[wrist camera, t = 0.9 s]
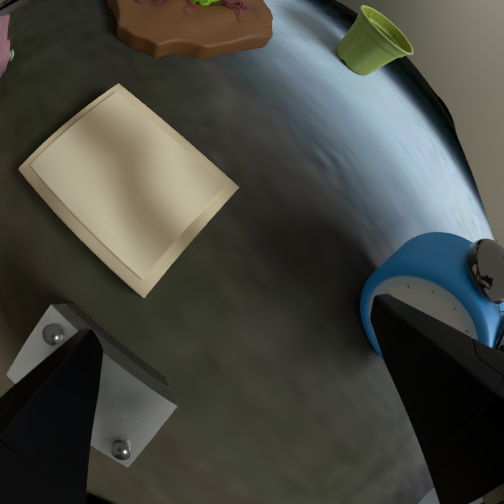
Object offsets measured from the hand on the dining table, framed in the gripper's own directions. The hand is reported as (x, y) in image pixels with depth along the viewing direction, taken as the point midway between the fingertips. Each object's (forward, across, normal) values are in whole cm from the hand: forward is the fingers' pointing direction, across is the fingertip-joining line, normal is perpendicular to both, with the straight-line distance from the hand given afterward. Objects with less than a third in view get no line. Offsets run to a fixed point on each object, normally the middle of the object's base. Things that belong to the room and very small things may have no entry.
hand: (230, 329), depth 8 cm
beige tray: (+13, +7, -2) cm, 15 cm away
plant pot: (+35, -20, -14) cm, 42 cm away
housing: (+6, +10, +8) cm, 14 cm away
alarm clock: (+13, -14, +13) cm, 23 cm away
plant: (+29, +2, -21) cm, 36 cm away
